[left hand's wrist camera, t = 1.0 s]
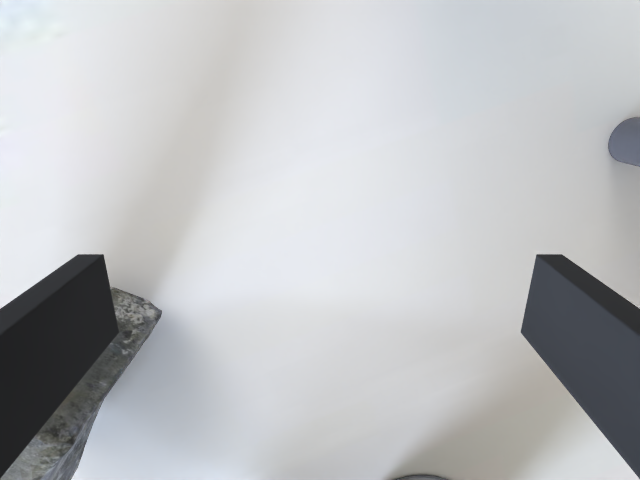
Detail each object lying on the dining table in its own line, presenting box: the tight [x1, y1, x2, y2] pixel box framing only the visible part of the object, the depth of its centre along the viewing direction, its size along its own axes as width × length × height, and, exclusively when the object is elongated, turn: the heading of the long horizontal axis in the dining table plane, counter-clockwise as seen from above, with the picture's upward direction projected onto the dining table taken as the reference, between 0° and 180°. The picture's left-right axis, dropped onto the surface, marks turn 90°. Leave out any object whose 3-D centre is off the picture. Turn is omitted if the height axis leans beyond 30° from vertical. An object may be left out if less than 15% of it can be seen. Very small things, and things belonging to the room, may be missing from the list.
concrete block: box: [0, 287, 162, 480], centre depth 38 cm, size 27×9×20 cm, turn 147°
